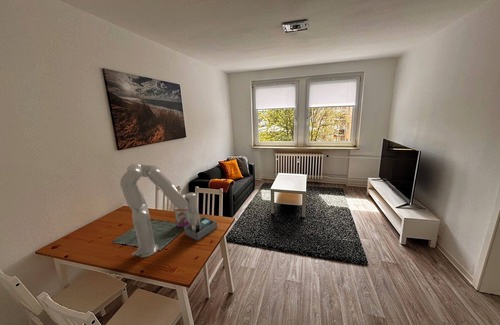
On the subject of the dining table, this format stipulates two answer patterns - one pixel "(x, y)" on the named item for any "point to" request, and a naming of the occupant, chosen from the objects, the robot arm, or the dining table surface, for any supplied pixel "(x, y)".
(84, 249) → the dining table surface
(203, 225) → the teal cube
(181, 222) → the candy bar box
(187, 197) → the robot arm
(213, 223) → the tote
